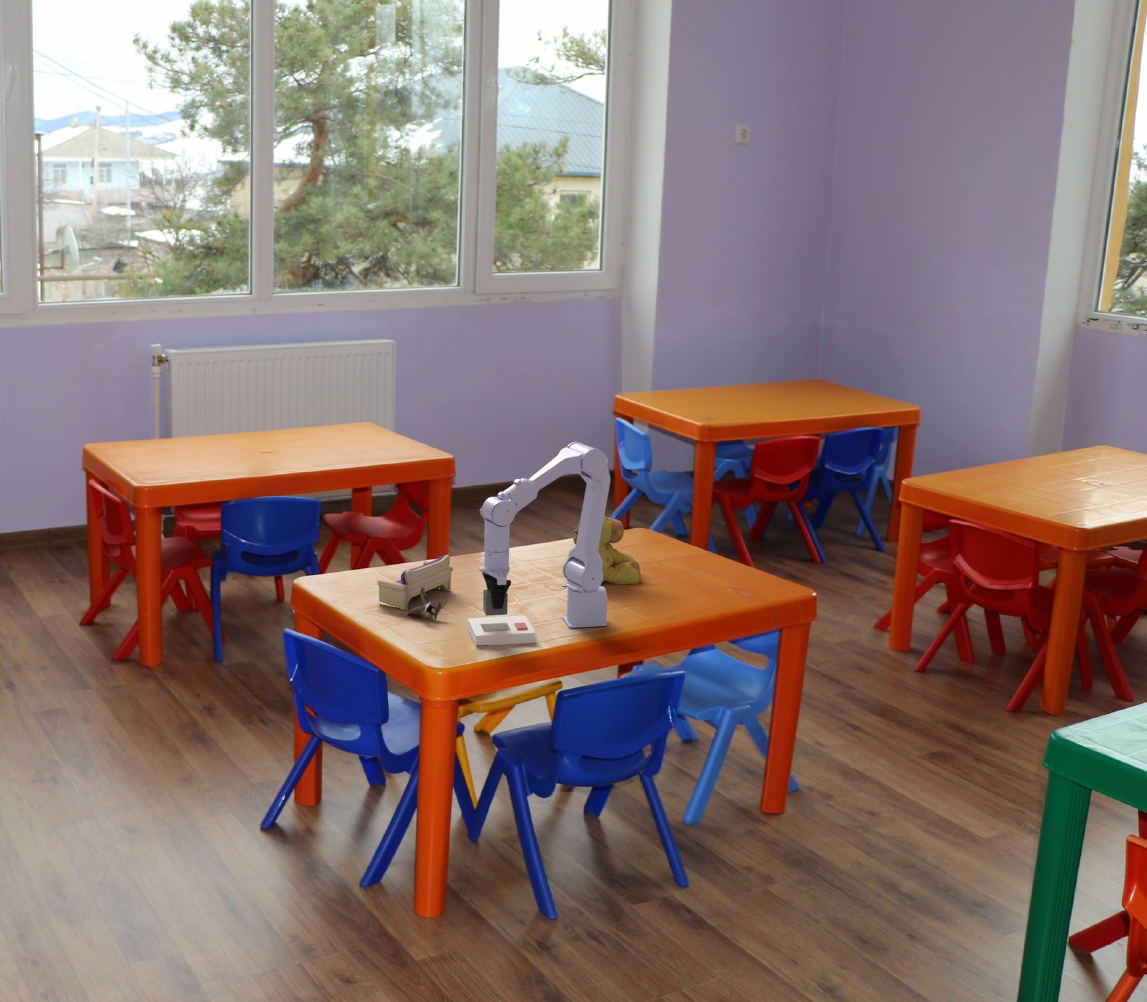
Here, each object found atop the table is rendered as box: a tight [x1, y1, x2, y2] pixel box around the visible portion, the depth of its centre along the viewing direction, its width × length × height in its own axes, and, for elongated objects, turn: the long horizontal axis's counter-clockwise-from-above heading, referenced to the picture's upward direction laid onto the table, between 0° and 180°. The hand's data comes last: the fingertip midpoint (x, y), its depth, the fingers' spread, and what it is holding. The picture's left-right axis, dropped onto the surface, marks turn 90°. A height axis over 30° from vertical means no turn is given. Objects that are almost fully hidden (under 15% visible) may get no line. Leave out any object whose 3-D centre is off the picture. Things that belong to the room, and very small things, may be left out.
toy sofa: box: [376, 554, 454, 610], centre depth 325 cm, size 21×9×10 cm, turn 151°
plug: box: [482, 589, 509, 617], centre depth 297 cm, size 5×4×5 cm
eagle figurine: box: [407, 588, 448, 621], centre depth 311 cm, size 8×7×9 cm
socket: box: [467, 615, 537, 647], centre depth 300 cm, size 14×12×3 cm
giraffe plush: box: [560, 511, 641, 587], centre depth 343 cm, size 20×24×19 cm
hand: (495, 605), depth 297 cm, fingers closed on plug, 4 cm apart
